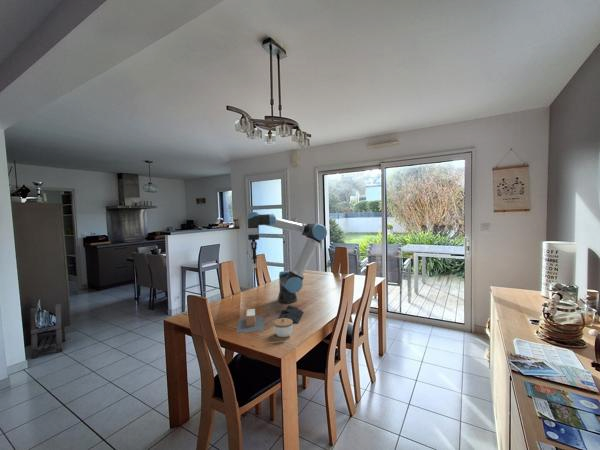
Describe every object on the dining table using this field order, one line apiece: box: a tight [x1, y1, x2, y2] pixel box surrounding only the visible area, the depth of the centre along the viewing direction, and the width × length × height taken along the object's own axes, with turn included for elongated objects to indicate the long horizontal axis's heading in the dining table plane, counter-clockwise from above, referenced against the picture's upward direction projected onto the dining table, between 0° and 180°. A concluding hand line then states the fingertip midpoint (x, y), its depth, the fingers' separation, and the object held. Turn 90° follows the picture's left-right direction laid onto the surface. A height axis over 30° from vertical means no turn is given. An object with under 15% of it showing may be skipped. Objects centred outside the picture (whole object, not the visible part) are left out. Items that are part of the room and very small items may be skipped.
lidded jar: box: [272, 318, 294, 338], centre depth 148 cm, size 11×11×9 cm
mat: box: [235, 315, 266, 334], centre depth 164 cm, size 16×22×1 cm
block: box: [245, 308, 256, 326], centre depth 167 cm, size 5×6×12 cm
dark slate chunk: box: [278, 304, 304, 324], centre depth 175 cm, size 15×22×5 cm
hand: (254, 267), depth 187 cm, fingers closed
